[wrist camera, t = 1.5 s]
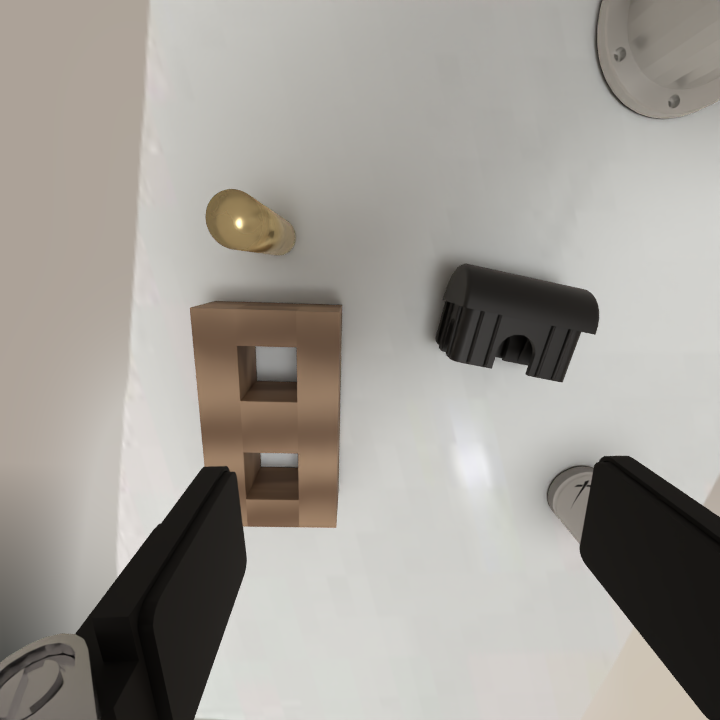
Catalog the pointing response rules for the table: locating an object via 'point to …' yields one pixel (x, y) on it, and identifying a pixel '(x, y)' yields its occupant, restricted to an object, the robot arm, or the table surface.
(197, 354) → the hole block
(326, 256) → the table surface
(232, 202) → the brass peg
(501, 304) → the end cap
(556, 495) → the travel mug
